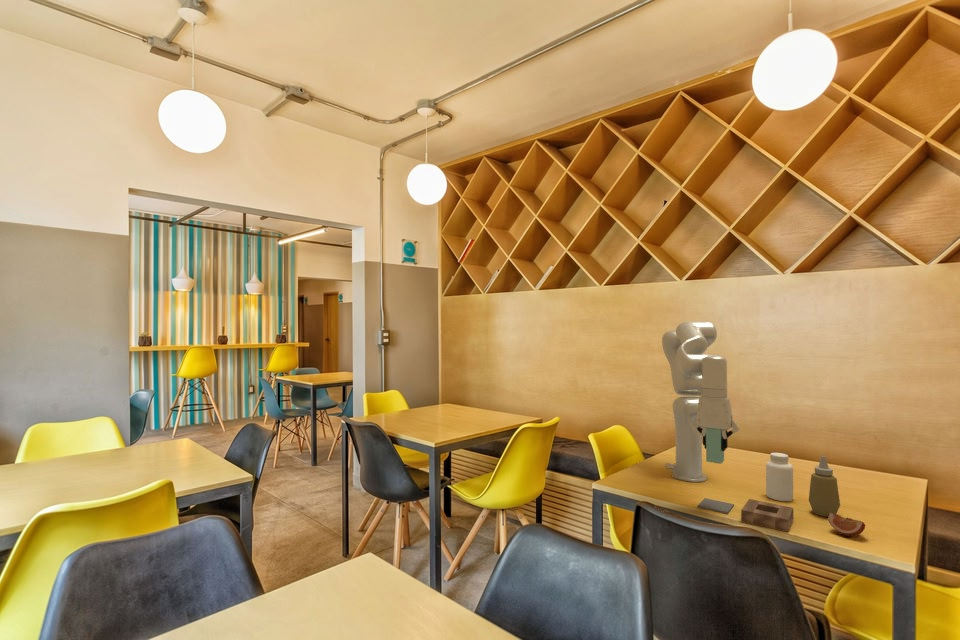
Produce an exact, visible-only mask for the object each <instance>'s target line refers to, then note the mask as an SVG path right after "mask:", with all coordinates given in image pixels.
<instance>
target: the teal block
mask: <svg viewBox="0 0 960 640" xmlns="http://www.w3.org/2000/svg"><path fill="white" fill-rule="evenodd" d="M721 439H722V432H721V430H719V429H710V428H706V449H705V455H706V457H705V458H706V459H705V462H707V463H714V464H720V465H721V464H723V463H724V462H725V451H722V450H721Z"/></svg>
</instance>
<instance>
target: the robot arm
mask: <svg viewBox="0 0 960 640" xmlns="http://www.w3.org/2000/svg"><path fill="white" fill-rule="evenodd" d="M717 337H718V331H717V328H716V325H715V324H714V323H713V322H711V321H693V320H692V321H684V322H681V323H679V324H678V325H677V326H676V329H673V330H668V331H665V332H664V333H663V335H662V339H661V344H662V351H663V352H664V355H665V356H664V357H665V358H666V359H667V361H668V364H669V367H670V373H671V380H672V387H673V390H674V392H675V394H676V395H679V396H680V397H677V398H675V399H674V400H673V402H672V411H673V412H672V413H673V419H674V427H675V430H674V431H675V463H671V462H665V467H664V468H666V470H672V471H671V476H672V477H673V478H674V479H677V480H679V481H684V482H689V483H700V482H704V481H705V482H706V481H707V479H708V478H707V475H706V474H705V473H704V472H703V446H704V449H705V450H706V428H710V429H719V430H721V432H722V439H721V450H722V451H724V452H725V451H726V450H727V449H728V445H729V444H728V443H729V442H728V438H730V436H731V435H733V434H735V433H737V432H739V431H740V428H739V427H738V425H737V424H736V422H735V420H734V419H733V412H732V411H733V410H732V405H731V400H730V398H729V397H728V364H727V363H728V360H727V358H726V357H724V356H721V355H719V354H710V353H709V354H706V353H705V352H706V351H707V349H708V348H709V347H710V346H712V345H713V344H714V343H715V341H716V340H717ZM731 428H732V429H731ZM728 430H729V431H728Z"/></svg>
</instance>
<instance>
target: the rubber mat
mask: <svg viewBox="0 0 960 640" xmlns="http://www.w3.org/2000/svg"><path fill="white" fill-rule="evenodd" d="M696 506H697V508H699V509H703V510H708V511H712V512H715V513H721V514H725V515H729V513H730V512H731V510H733V509H734V507H735V504H734V503H730V502H725V501H722V500H721V501H720V500H715V499H712V498H711V499H710V498H706V497H704V498H703V499H702V500H701V501H700V502H699V503H698V504H697V505H696Z"/></svg>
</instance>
